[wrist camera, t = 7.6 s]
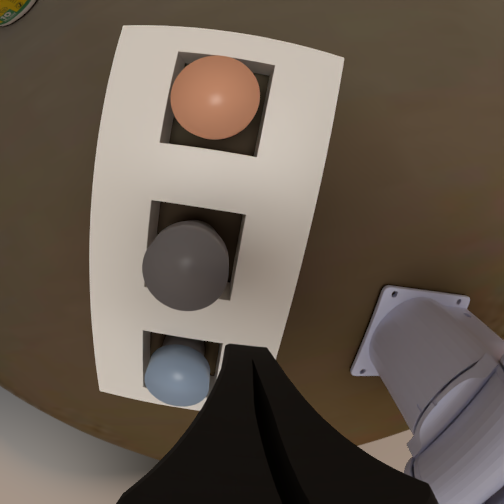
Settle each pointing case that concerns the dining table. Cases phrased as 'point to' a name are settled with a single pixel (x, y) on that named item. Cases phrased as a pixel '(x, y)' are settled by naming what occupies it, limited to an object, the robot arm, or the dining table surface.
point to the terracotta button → (215, 97)
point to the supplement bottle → (13, 10)
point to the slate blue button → (178, 372)
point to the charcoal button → (186, 266)
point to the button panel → (202, 195)
